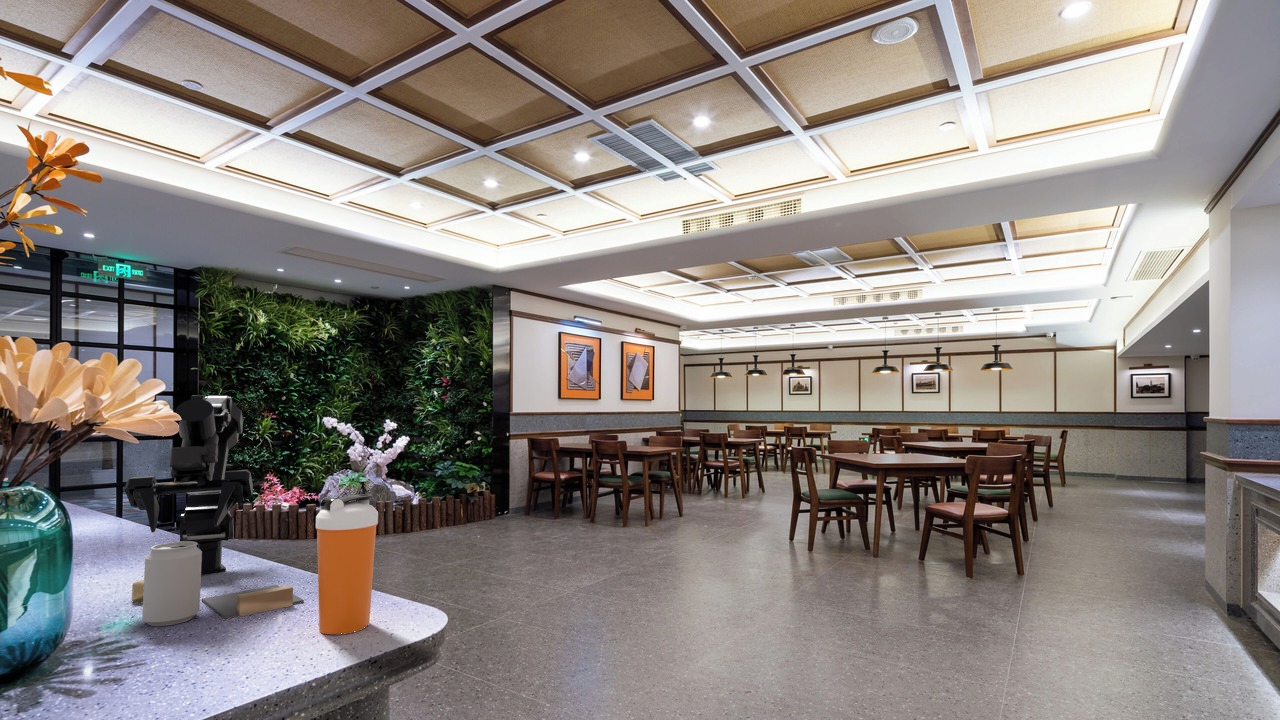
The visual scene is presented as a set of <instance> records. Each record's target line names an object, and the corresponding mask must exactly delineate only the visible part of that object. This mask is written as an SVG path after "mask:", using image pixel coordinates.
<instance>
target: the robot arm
mask: <svg viewBox="0 0 1280 720" xmlns="http://www.w3.org/2000/svg"><path fill="white" fill-rule="evenodd" d="M232 398H233V397H231V396H229V395H208V396H205V395H201V394H200V395H199V394H198V395H194V394H193V395H191V397H190V399H188V400H185V401H183V402H181V403H180V404H179V405H178V406H177V407H176V409H175V414H176V413H177V414H179V415H180V416H181V417H182V420H181V421H180V422H179V428H178V433H179V436H180V438H181V439H182V443H181V445H180V446H179V447H172V448H171V450H170V458H169V467H170V468H171V471H170V476H171V479H174V481H169V482H168V481H167V482H158V481H157V478H156V475H152V476H151V475H150V476H137V477H136V476H135V477H133V476H132V477H129V479H128V480H127V481H125V486H124V492H125V495H126V497H127V500H128V502H129V505H130V506H131V507H133V508H138V510H139V511H146V514H147V519H148V523H149V528H150V531H151V533H155V532H156V529H157V527H158V522H159V521H158V519H159V513H160V505H159V502H160V500H161V499H160V498H161V496H162V495H175V494H180V495H181V494H189V496H188V498H187V501H186V505H185V509H184V513H181V515H180V518H179V542H180V541H194V542H197V543H198V544H197V546H196V547H197V548H199V549H200V550H201V551H202V561H201V575H203V574H211V573H217V572H223V571H224V572H225V571H227V567H226V566H224V564H222V555H223V541H229V540H233V539H234V534H235V530H234V517H233V516H232V514H231V510H232V508H234V507H235V506H236V504H238V503H242V502H244V500H245V499H250V498H252V497H253V492H254V491H253V490H254V489H253V488H254V485H253V479H252V473H251V471H249V470H248V469H241V470H227V471H226V469H227V463H228V456H229V455H228V454H229V450H230V449H232V448H233V447H234V446H235V445H236V444H238V441H239V436H240V434H243V429H244V427H243V426H244V425H243V424H244V422H243V411H242V410H241V409H240V407H238V406H237V405H235V404H234V403H233V399H232Z"/></svg>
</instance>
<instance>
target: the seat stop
mask: <svg viewBox="0 0 1280 720" xmlns="http://www.w3.org/2000/svg"><path fill="white" fill-rule="evenodd" d="M293 594H294V587H293V586H291V585H284V586H279V587H278V588H272V589H267V590H262V591H256V592H251V593H246V594H241V595H237V602H236V612H238V613H239V616H238V617H244V616H249V615H252V614H258V613H263V612H267V611H268V612H269V611H272V610H277V609H282V608H283V609H284V608H287V607H292V606H293V605H294V604H293Z"/></svg>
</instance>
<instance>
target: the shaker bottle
mask: <svg viewBox="0 0 1280 720" xmlns="http://www.w3.org/2000/svg"><path fill="white" fill-rule="evenodd" d="M372 497H374V495H373V494H372V493H371V494H369V493H364V494H363V493H358V494H351V495H345V496H342V497H341V496H340V497H338V498H336V497H330V496H325V497H323V498H322V499H321V500H320V505H319V507H320V509H319V512H318V513H317V515H316V516H315V529H316V531H317V532H316V533H317V534H316V535H317V537H316V539H317V577H318V578H317V583H318V584H317V585H318V628H319V629H318V630H319V632H320V633H321V634H323V635H326V634H341V633H342V634H343V635H345V634H344V633H350V632H354V631H358V630H360V629H363V628H364V627H366V626H367V625H368V624H369V625H370V618H371V616H370V615H371V606H372V591H373V589H372V588H373V580H374V579H373V578H374V577H373V576H374V562H375V549H376V548H375V547H376V535H377V526H378V524H379V512H378V510H377V509H376V507H374V506H373V505H372V504H370V499H371V498H372ZM355 500H356V501H355ZM369 625H368V626H369ZM366 628H367V627H366ZM363 630H364V629H363ZM358 632H359V631H358ZM324 633H325V634H324ZM354 633H355V632H354ZM350 634H351V633H350Z"/></svg>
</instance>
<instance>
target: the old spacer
mask: <svg viewBox="0 0 1280 720" xmlns="http://www.w3.org/2000/svg"><path fill="white" fill-rule="evenodd" d="M143 592H144V579H142V580H138V581H135V582H133V583H132V587H131V602H132V601H133V602H132V603H134V602H143Z"/></svg>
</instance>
